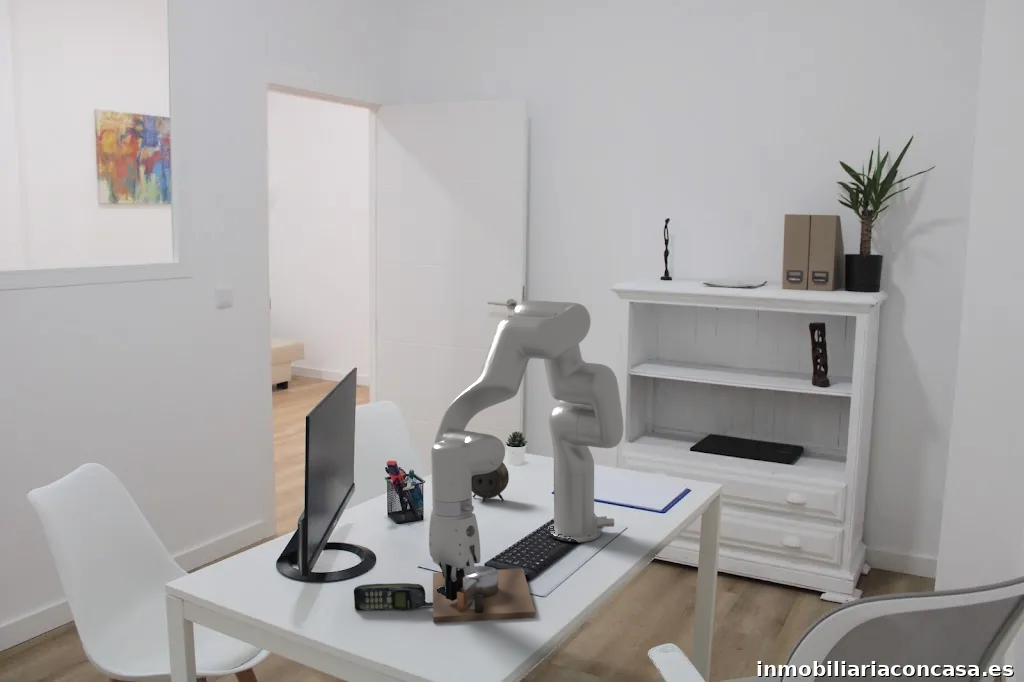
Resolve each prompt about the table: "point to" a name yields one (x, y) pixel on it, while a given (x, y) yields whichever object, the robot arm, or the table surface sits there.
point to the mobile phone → (389, 597)
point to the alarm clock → (490, 483)
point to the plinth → (487, 600)
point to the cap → (477, 585)
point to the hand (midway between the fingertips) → (454, 597)
